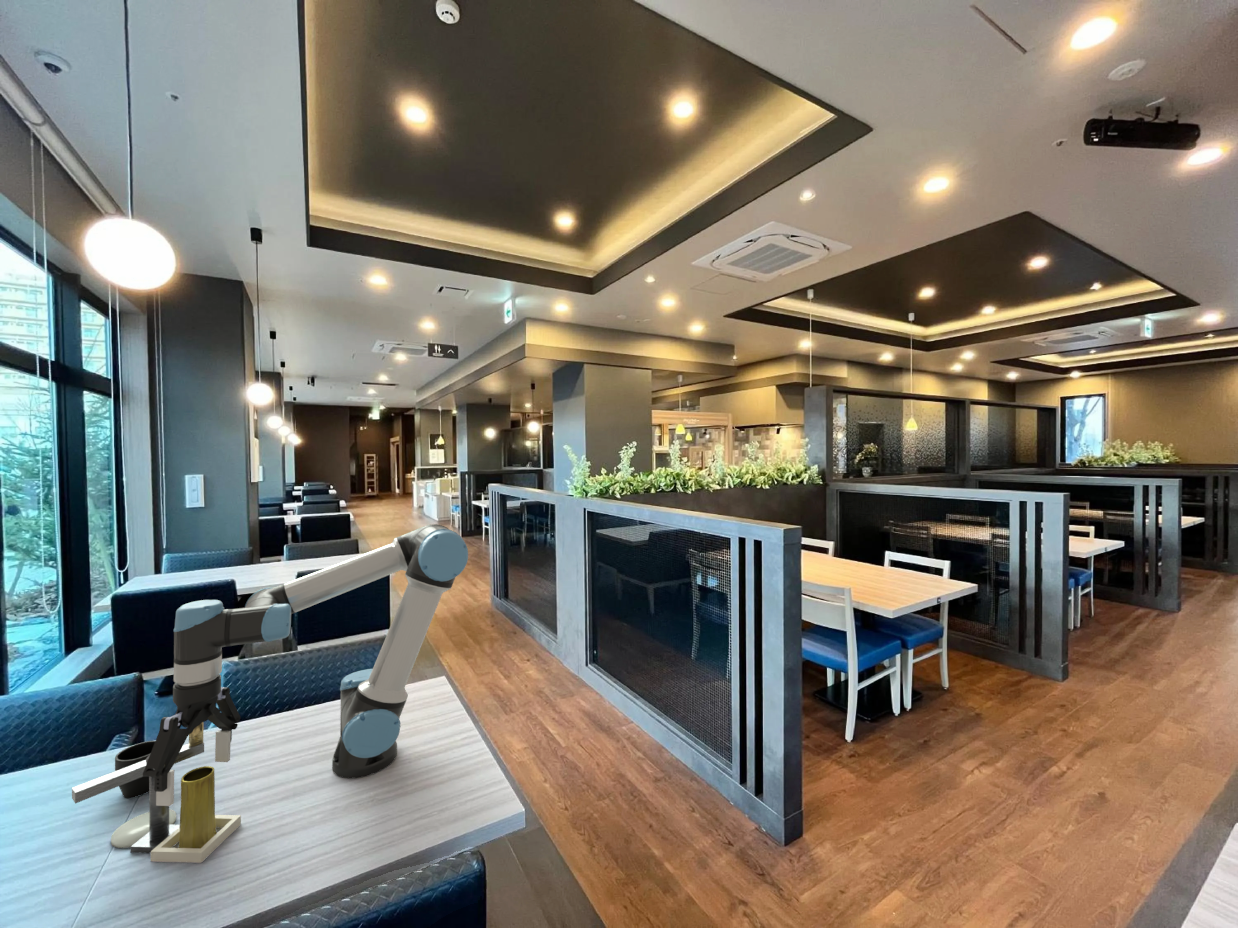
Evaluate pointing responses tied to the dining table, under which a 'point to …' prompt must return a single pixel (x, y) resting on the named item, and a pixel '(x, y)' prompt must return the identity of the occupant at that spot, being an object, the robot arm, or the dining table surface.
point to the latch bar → (135, 770)
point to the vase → (197, 808)
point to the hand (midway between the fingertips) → (195, 781)
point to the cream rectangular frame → (195, 855)
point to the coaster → (135, 830)
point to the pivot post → (154, 825)
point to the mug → (130, 758)
